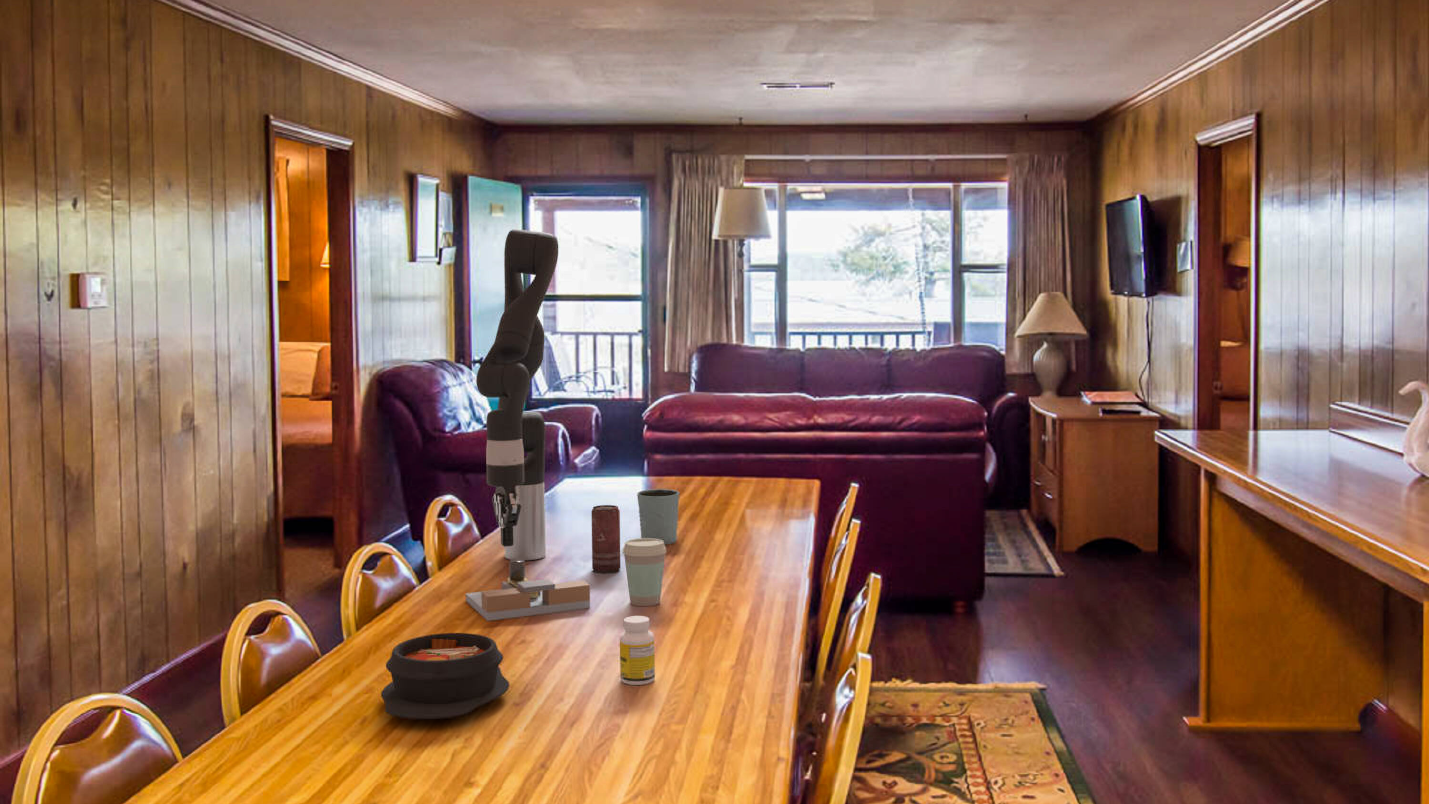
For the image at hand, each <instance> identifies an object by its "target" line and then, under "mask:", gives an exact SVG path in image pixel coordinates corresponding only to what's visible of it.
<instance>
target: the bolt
mask: <svg viewBox="0 0 1429 804" xmlns="http://www.w3.org/2000/svg"><path fill="white" fill-rule="evenodd" d="M525 561H526V560H509V563H508V566H509V570H508V571H509V577H506V578H507V581H506V582H507V583H509V584H510V585H511V586H512V587H514V588H517V583H518V582H527V581H529V580H530V579H529V578H526V577H525V576H526V569H525V568H526V567H525V564H526V563H525ZM528 579H529V580H528ZM536 597H538V591H536V592H530V598H536Z"/></svg>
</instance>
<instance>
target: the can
mask: <svg viewBox="0 0 1429 804" xmlns="http://www.w3.org/2000/svg"><path fill="white" fill-rule="evenodd" d="M620 516H621V512H620V509H619V507H618V505H611V504H609V505H608V504H602V505H595V506H593V507H592V510H591V550H592V551H591V561H592V562H591V563H592V565H591V567H592V570H593V572H595V573H599V574H611V573H612V574H614V573H617V572H619V571H620V569H621V517H620Z"/></svg>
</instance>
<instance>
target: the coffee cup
mask: <svg viewBox="0 0 1429 804" xmlns="http://www.w3.org/2000/svg"><path fill="white" fill-rule="evenodd" d="M666 553H667V547H666V544H664V542H663V541H662V540H659V539H652V538H641V537H640V538H634V539H633V538H632V539H629V540H627V541H625V543H624V547H622V554H623V555H624V563H625V572H626V578H627V579H626V580H627V588H628V595H629V603H630V604H631V605H632V606H636V607H652V606H653V607H654V606H657V605H659V604H660V603H661V598H662V597H661V595H662V587H663V577H664V566H665V559H666V558H665V556H666Z"/></svg>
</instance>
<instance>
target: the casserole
mask: <svg viewBox="0 0 1429 804" xmlns="http://www.w3.org/2000/svg"><path fill="white" fill-rule="evenodd" d="M503 659H504V655H503V653H502V652H501V651H500V650H499V648H498V645H497V643H496V641H495V640H494V639H492V638H491V637H490V636H486V635H481V634H477V633H476V634H475V633H467V632H466V633H465V632H464V633H463V632H447V633H436V634H434V633H433V634H428V635H423V636H418V637H414V638H411V639H407V640H405V641H402V642H400V643H399V644H397V645H395V646H394V648H393V649H392V652H391V655H390V658H389V659H388V660H387V662H386V663H385V667H386V670H387V671H388V672H389V673H390V674H391V678H392V681H391V682H390V683H388V684H387V685H385V686H384V688H383V689H382V691H381V693H380V697H381V699H382V701H384V703H385V707H384V709H385V713H387V714H389V715H390V716H392V717H395V718H396V717H397V718H400V719H401V718H403V719H409V720H439V719H440V720H441V719H450V718H451V719H452V718H456V717H461V716H463V715H467V714H468V713H470V712H472V711H473V710H475V709H477V707H480V706H483V705H485V704H487V703H490V702H492V701H494V700H497V699H498V698H500V697H501V696H503V695H505V694H506V692H508V690H509V687H510V683H509V681H508V679H507V678H506V677H505V676H504V675H503V673H502V670H501V668H500V667H499V665H501V663H502V662H503Z"/></svg>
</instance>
